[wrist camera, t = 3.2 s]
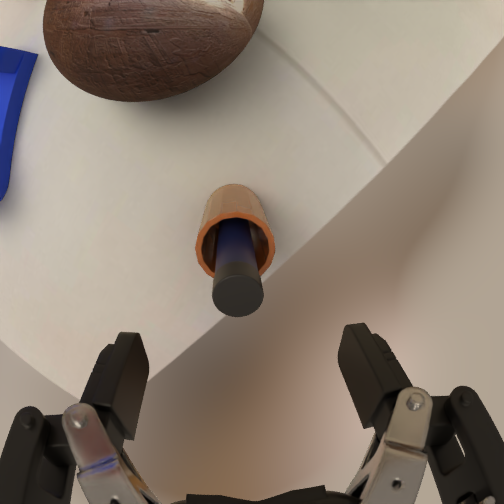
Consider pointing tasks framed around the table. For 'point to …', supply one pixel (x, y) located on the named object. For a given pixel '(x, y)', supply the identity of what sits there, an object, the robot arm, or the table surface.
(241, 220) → the marker
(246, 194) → the pen cup
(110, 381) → the robot arm
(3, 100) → the bracket
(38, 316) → the table surface
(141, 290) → the table surface
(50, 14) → the wooden sphere
